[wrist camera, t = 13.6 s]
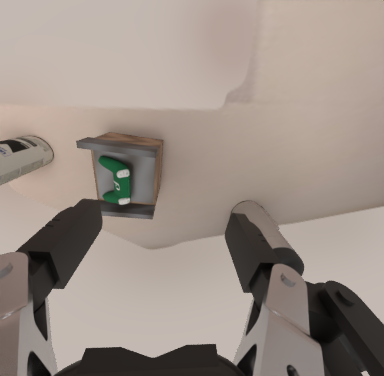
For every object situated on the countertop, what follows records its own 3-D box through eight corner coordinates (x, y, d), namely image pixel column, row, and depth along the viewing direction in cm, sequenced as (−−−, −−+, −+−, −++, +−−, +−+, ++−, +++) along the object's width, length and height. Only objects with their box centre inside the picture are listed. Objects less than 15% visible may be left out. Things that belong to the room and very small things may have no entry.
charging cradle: (163, 138, 36) (156, 152, 25) (159, 190, 42) (152, 219, 31) (108, 129, 34) (74, 141, 23) (112, 185, 41) (87, 214, 30)
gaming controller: (119, 193, 34) (134, 206, 31) (101, 199, 31) (116, 213, 28) (117, 153, 30) (134, 163, 27) (95, 155, 27) (112, 166, 24)
